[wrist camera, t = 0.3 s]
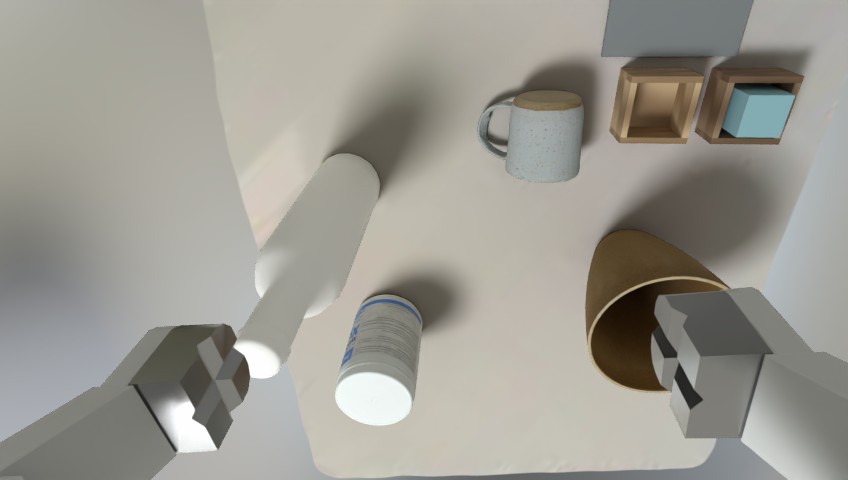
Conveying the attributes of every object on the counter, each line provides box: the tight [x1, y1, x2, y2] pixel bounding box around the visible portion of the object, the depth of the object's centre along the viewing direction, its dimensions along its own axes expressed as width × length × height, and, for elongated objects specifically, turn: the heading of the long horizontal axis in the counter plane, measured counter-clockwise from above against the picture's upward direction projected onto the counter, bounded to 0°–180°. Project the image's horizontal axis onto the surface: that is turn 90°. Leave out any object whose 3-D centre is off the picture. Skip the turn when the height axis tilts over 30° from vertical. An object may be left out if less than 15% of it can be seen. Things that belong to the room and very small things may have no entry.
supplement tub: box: [335, 295, 422, 425], centre depth 62 cm, size 10×10×15 cm
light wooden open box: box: [609, 68, 704, 144], centre depth 49 cm, size 7×7×4 cm
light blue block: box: [722, 83, 795, 138], centre depth 47 cm, size 4×4×6 cm
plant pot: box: [585, 229, 731, 393], centre depth 53 cm, size 15×15×16 cm
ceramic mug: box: [477, 90, 584, 183], centre depth 50 cm, size 11×8×8 cm
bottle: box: [234, 153, 380, 378], centre depth 45 cm, size 8×8×30 cm
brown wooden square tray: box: [695, 68, 804, 145], centre depth 48 cm, size 7×7×4 cm
